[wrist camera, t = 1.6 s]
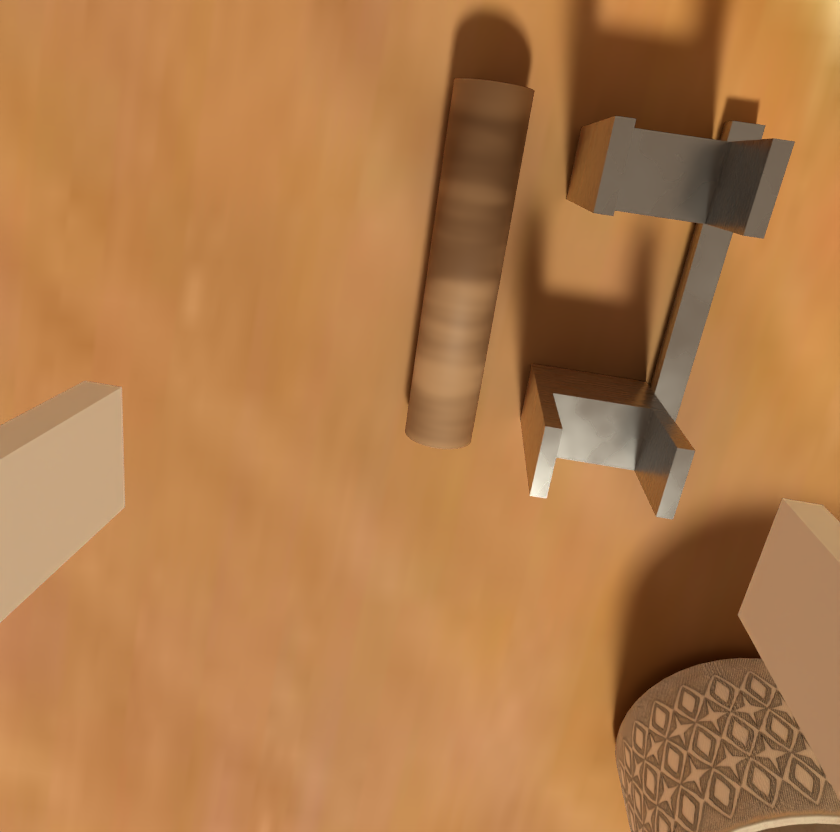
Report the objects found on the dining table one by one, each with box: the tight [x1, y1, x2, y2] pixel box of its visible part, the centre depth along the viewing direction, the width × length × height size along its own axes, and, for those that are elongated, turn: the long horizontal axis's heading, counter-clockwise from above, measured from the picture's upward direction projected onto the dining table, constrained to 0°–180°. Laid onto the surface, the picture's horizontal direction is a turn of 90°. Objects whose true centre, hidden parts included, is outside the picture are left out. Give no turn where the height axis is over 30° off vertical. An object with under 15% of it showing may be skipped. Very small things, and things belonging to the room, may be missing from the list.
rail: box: [405, 78, 534, 449], centre depth 36 cm, size 19×4×4 cm, turn 172°
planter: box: [615, 658, 840, 832], centre depth 42 cm, size 16×16×13 cm
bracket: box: [520, 116, 795, 519], centre depth 33 cm, size 19×9×10 cm, turn 172°
